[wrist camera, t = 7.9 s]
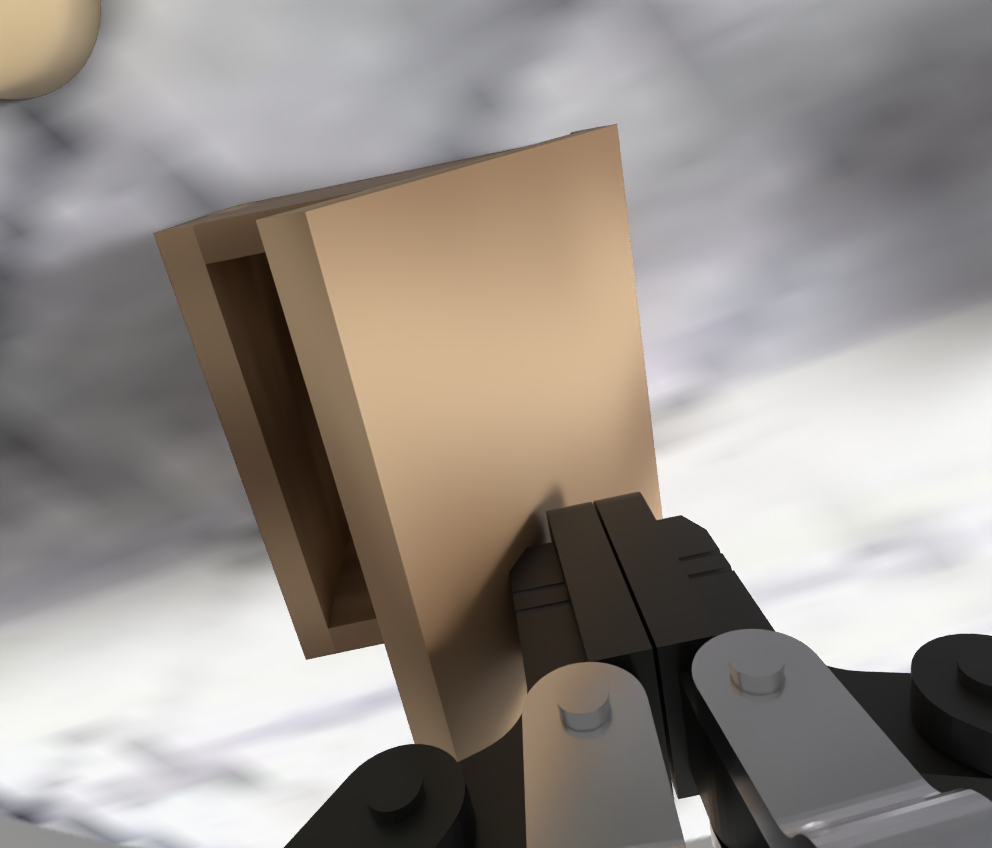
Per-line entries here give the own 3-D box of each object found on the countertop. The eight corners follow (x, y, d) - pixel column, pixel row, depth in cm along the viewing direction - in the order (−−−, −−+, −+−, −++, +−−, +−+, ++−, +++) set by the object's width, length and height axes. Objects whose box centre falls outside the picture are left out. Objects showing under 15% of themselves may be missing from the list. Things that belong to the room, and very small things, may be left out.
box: (237, 205, 21) (153, 233, 15) (538, 144, 21) (585, 145, 15) (337, 526, 25) (305, 659, 19) (589, 474, 25) (644, 588, 19)
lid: (228, 225, 7) (304, 211, 6) (577, 131, 15) (622, 122, 14) (470, 984, 11) (526, 1008, 11) (640, 597, 19) (676, 601, 19)
